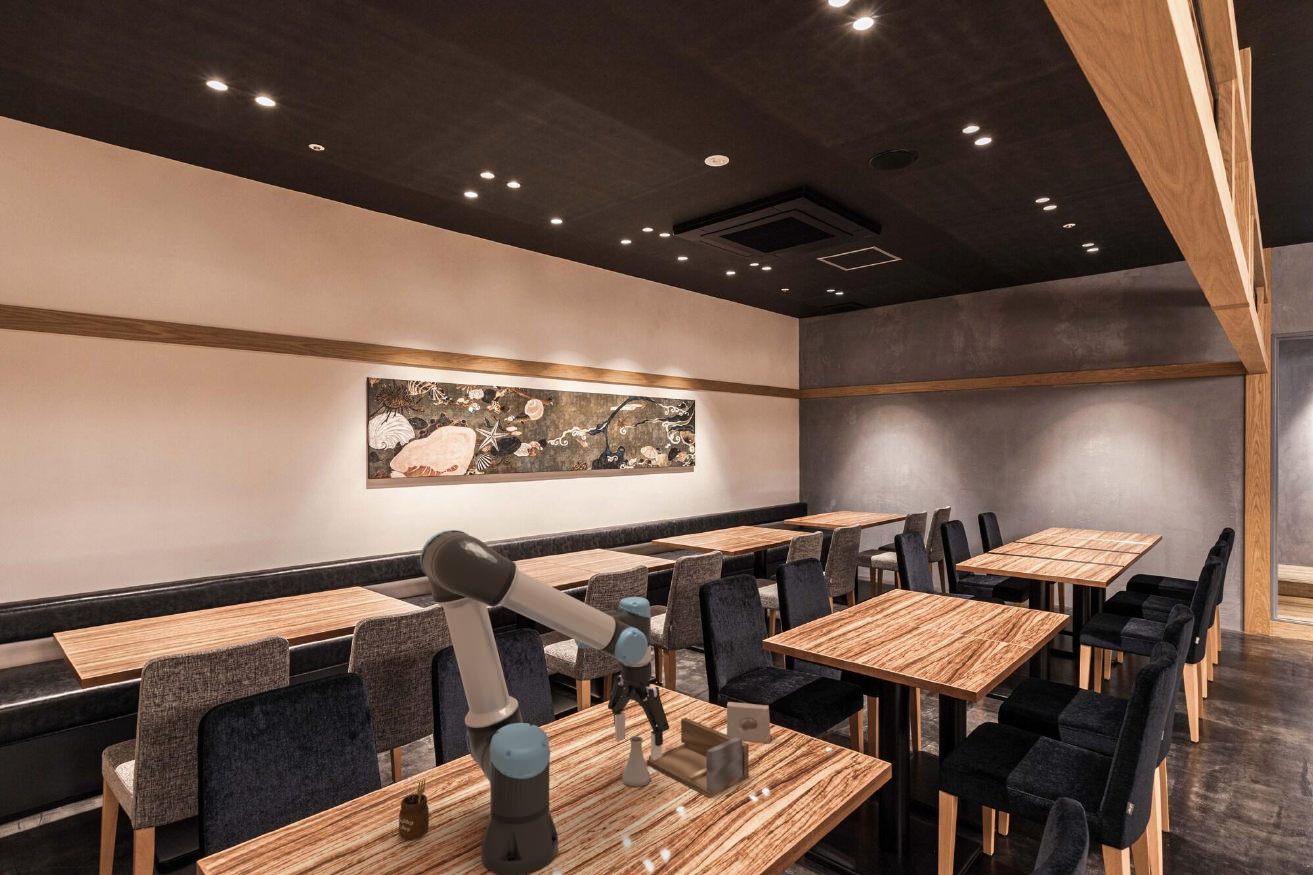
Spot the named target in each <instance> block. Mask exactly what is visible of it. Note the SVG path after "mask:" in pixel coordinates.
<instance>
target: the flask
mask: <svg viewBox="0 0 1313 875" xmlns="http://www.w3.org/2000/svg"><path fill="white" fill-rule="evenodd" d="M629 741H630V751H629V757H628V760H627V762H626V765H625V768H624V771H623V773H622V777H621V780H622V783H623V785H625V786H629V787H630V786H631V787H641V786H648V784H649V783H650V782H651V781H652V778H651V775H650V773H649V770H648V765H647V762H646V761H645V758H644V754H643V747H642V746H643V744H642V743H643V741H644V739H643V737H642V736H637V735H636V736H631V737H630V738H629Z"/></svg>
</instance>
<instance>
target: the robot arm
mask: <svg viewBox="0 0 1313 875" xmlns="http://www.w3.org/2000/svg"><path fill="white" fill-rule="evenodd" d="M420 567H421V570H422V572H423V573H424V575H425V576H426V577H427V582H428V583H429V587H430V591H431V595H432V599H433V603H434V604H436V605H438V606H441V607H442V608H443V612H444V615H445V616H444V617H445V619H446V623H447V626H448V632H449V635H450V639H451V642H452V646H453V650H454V654H455V659H456V661H457V665H458V666H457V667H458V669H459V674H460V678H461V680H462V681H461V682H462V686H463V690H464V694H465V697H466V698H465V699H466V701H467V704H468V708H469V710H468V712H467V714H466V715H465V717H464V723H465V726H466V727H465V728H466V730H467V731H466V744H467V749H468V752H469V755H470V756H471V758H472V760H473V761H474V762H475V763H476V764H477V765H478V766H479V768H480V769H481V770H482V773H483V774H484V776H485V777H486V778H487V780H488V781H489V785H490V786H489V787H490V789H489V790H490V791H489V792H490V795H489V796H490V800H489V802H490V803H489V804H490V806H489V807H490V813H489V815H490V816H489V820H488V823H487V825H486V829H485V832H484V837H483V839H482V841H481V848H480V849H481V850H480V856H481V864H483V866H484V868H486V869H487V870H489V871H490V872H492V873H495V874H498V875H526V874H531V873H534V872H536V871H538V870H541V869H542V868H544V867H546V866H547V865H549V864H550V863H551V862H552V861H553V860H554V859H555V858H556V856H557V854H558V852H559V851H558V850H559V836H558V835H559V834H558V831H557V828H556V825H555V823H554V822H555V821H554V819H553V816H552V813H551V810H550V764H551V763H550V758H551V747H550V741H549V737H548V735H547V733H546V732H545V730H544V729H542V728H541V727H539V726H538V725H535V724H532V725H531V724H530V723H527V722H526V723H525V722H524V721H523V717H522V714H521V710H520V706H519V701H518V699H516V698H515V697H513V696H511V695H509V692H508V691H509V690H508V686H507V684H506V679H505V676H504V671H503V668H502V662H501V659H500V656H499V655H500V654H499V651H498V646H497V643H496V639H495V636H494V632H493V631H494V630H493V627H492V623H491V618H490V615H489V610H488V607H487V606H489V607H491V608H496V607H499V606H502V607H504V608H506V609H508V610H511V611H513V612H515V613H517V614H520V615H522V616H524V617H526V618H528V619H530V620H533V621H535V622H537V623H539V624H541V625H543V626H546V627H547V628H549V629H552V630H555V631H556V632H559V633H561V634H563V635H565V636H566V637H568V638H572V639H573V640H574V642H575V645H576V646H577V647H579V648H580V649H587V648H588V649H591V648H593V649H596V650H597V651H599V652H602V653H604V654H606V655H608V656H610V657H612V658H615V659H616V660H617V661H618V662H621V663H620V675H616V676H615V680H614V686H613V690H612V692H611V695H610V698H609V701H608V705H607V708H608V710H611V712H612V714H613V726H614V738H615V739H614V740H615V742H616V743H618V742H620V741H623V740H625V739H626V713H625V712H624V711H625V708H626V706H627V705H628V704H629V703H630V701H634V702H635V703H638V705H639V706H640V707H641V708H642V710H643V711H644V715H645V716H646V718H647V721H648V722H649V725H650V727H651V729H652V730H651V731H650V753H651V754H650V755H651V759H652V760H656V759H658V758H660V757H662V750H663V749H662V747H663V744H664V741H663V740H664V734H663V733H664V732H666V731H668V730H669V729H670V725H669V722H668V718H667V714H666V713H665V712H666V711H665V709H664V707H663V703H662V699H661V697H660V696H661V695H660V688H659V687H658V686H655V687H653V686H652V687H651V686H650V680H651V678H652V675H653V674H652V672H653V670H652V662H651V661H652V641H651V640H652V635H651V634H652V633H651V632H652V630H651V629H652V628H651V627H652V626H651V625H652V624H651V620H652V619H651V618H652V615H651V607H650V602H649V600H648V599H646V598H644V597H640V596H629V597H625V598H622V599H621V600H620V601H619V604H618V605H619V606H618V608H617V609H614V610H607V611H602V610H599V609H598V608H595V607H593V606H592V605H589V604H587V603H585V602H583V601H581V600H579V599H577V598H576V597H573V596H571V595H569V594H567V593H565V592H563V591H561V590H558V589H557V588H555V587H554V586H550V585H549V584H547V583H545V582H543V581H541V580H539V579H538V578H535V577H533V576H530V575H529V574H527V573H525V572H522V571H521V570H519V569H518V564H517V563H516V562H514V561H512V560H510V559H509V558H507V557H506V556H505V557H504V556H503V555H501V554H500V553H498V552H497V551H496V550H494V549H493V548H492V547H490V546H489V545H487V544H486V543H485V542H483V541H482V540H481V539H479V538H478V537H475V536H471V535H469V534H468V533H466V532H464V531H462V530H457V529H449V530H442V531H439V532H438V533H435V534H434V535H432V536H431V537H429V539H428V540H427V541H426V542H425V544H424V545H423V548H422V550H421V552H420Z"/></svg>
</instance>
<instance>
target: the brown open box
mask: <svg viewBox="0 0 1313 875" xmlns="http://www.w3.org/2000/svg"><path fill="white" fill-rule="evenodd" d="M680 725H681V726H680V730H681V731H680V737H681V738H680V742H678V743H677V744H675V745H672V746H669V747H667V748H665V749H662V757H660V758H658V759H656V760H652V759H651V754H650V755H648V759H647V760H646V766H647V767H650V768H652V769H654V770H656V771H658V772H660V773H662V774H663V775H665V776H666V777H667V776H668V777H669V778H671V779H673V780H674V781H677V782H679V783H680V784H682V785H684V786H686V787H688V788H690V789H692V790H694V791H695V792H697V793H700V794H702V795H703V796H705V797H706V798H709V799H712V798H714V797H716V796H717V795H719V794H721V793H722V792H725V791H727V790H728V789H730V788H732V787H734V786H736V785H737V784H739V783H741V782H743V781H745V780H747V779H749V777H750V774H749V772H750V770H749V769H750V768H749V767H750V765H749V762H750V761H749V755H750V754H749V743H747V742H746V741H742V739H741V738H739V737H735V738H733V737H730V736H728V735H727V733H726V734H725V733H724V732H723V733H722V732H720V731H719V730H715V729H713V728H711V727H708V726H706V725H704V724H701V723H699V722H697V721H694V720H692V719H690V718H687V717H684V718H681V719H680Z"/></svg>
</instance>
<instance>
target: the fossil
mask: <svg viewBox="0 0 1313 875" xmlns="http://www.w3.org/2000/svg"><path fill="white" fill-rule="evenodd" d="M770 722H771V719H770V707H769V705H763V704H755V703H754V704H753V703H747V702H746V703H745V702H733V701H727V704H726V735H728V736H730V737H733V738H735V737H739V738H741V739H742V742H748V743H749V742H753V743H759V744H763V743H764V744H771V738H772V737H771V724H770Z"/></svg>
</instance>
